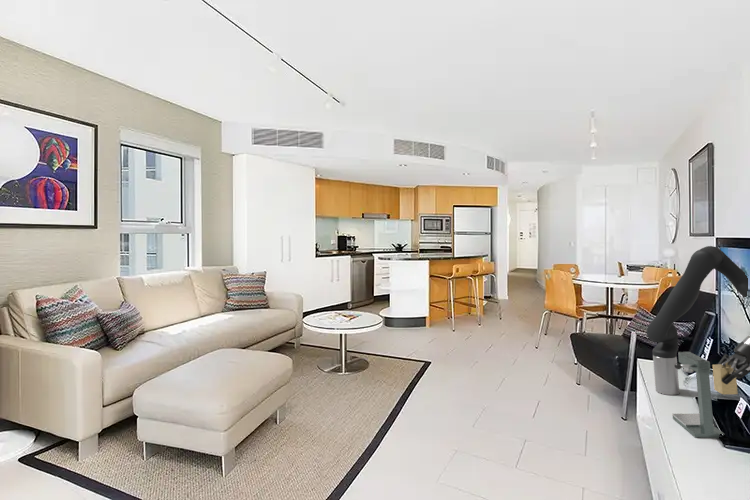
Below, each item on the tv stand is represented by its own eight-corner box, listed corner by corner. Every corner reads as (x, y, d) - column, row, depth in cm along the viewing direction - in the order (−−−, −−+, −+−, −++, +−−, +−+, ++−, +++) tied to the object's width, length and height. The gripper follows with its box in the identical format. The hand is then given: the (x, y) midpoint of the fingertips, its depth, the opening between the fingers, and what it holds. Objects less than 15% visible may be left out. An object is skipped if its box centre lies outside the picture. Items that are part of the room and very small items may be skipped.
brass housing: (714, 389, 161) (712, 362, 161) (729, 389, 160) (726, 361, 160) (722, 394, 156) (720, 365, 156) (737, 394, 155) (735, 365, 155)
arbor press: (662, 418, 168) (656, 350, 167) (699, 418, 165) (693, 349, 164) (683, 437, 152) (677, 362, 152) (724, 437, 149) (718, 361, 149)
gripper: (731, 337, 163) (700, 367, 166) (757, 346, 149) (722, 379, 152) (748, 349, 162) (716, 380, 165) (775, 360, 148) (740, 393, 151)
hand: (719, 380), depth 159 cm, fingers closed on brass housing, 5 cm apart
